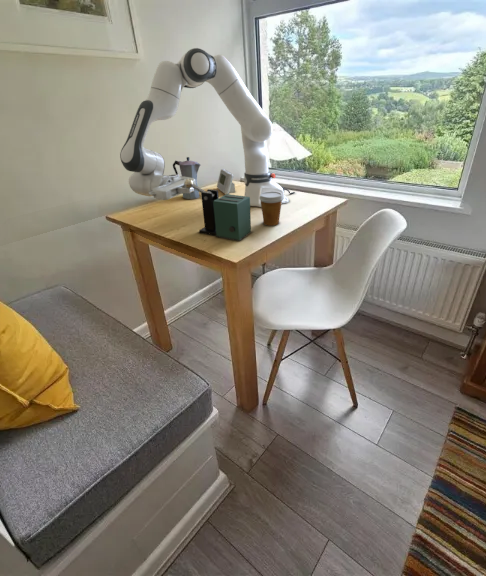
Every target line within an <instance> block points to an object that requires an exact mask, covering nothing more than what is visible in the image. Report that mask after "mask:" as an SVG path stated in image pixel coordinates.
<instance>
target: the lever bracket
mask: <svg viewBox="0 0 486 576" xmlns="http://www.w3.org/2000/svg"><path fill="white" fill-rule="evenodd" d="M208 191H210V192H212V193H214V194H215V197H214V200H216V199H218V198H220V197H219V189H210V188H208V189H207V190H206V192H200V197H201V205H202V214H203V215H202V216H203V221H204V222H203V223H204V227H202V228H200V229H199V234H203V235H208V236H214V237H217V235H216V225H215V214H214V204H213V201H214V200H213V196H212V193H208Z"/></svg>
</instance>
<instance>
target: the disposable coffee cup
mask: <svg viewBox="0 0 486 576" xmlns="http://www.w3.org/2000/svg"><path fill="white" fill-rule="evenodd" d="M259 199H260V201H261V207H260V208H261V215H262V219H263V220H262V221H263V225H264V226H268V227H269V226H270V227H274V226H277V225H279V223H280V217H281V210H282V204H283V203H282V199H283V196H282V194H281V193H279V192H264V193H261V195H260V197H259ZM281 203H282V204H281Z"/></svg>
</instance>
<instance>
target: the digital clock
mask: <svg viewBox="0 0 486 576" xmlns="http://www.w3.org/2000/svg"><path fill="white" fill-rule="evenodd" d="M233 179H234V174H233V173H231V172H230V171H229V170H227V169H225V168H221V169H220V172H219V175H218V179H217V184H216V188H217V190H219V191H220V192H222V193H223V194H224V195H226V194H232V193H236V185H235V183H234V182H233Z"/></svg>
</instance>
